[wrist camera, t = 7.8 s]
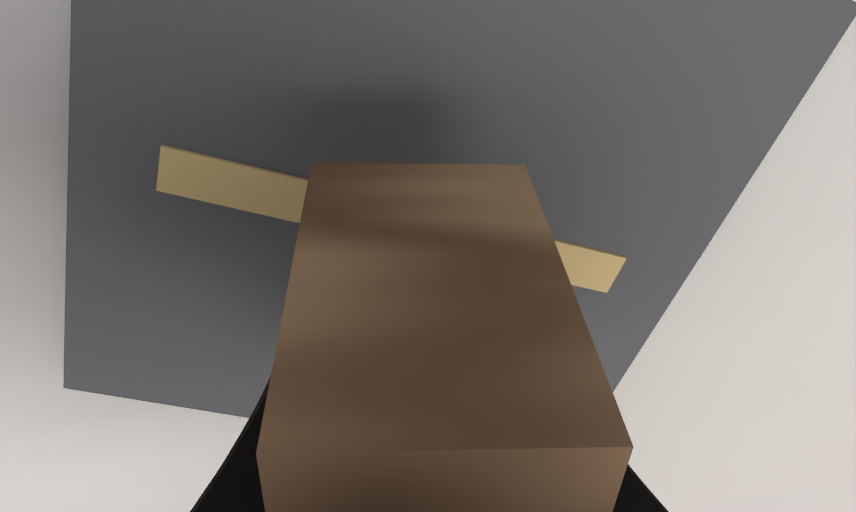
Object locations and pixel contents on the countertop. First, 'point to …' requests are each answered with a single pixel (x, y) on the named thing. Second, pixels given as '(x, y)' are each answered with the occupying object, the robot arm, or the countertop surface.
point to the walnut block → (434, 353)
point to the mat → (397, 154)
